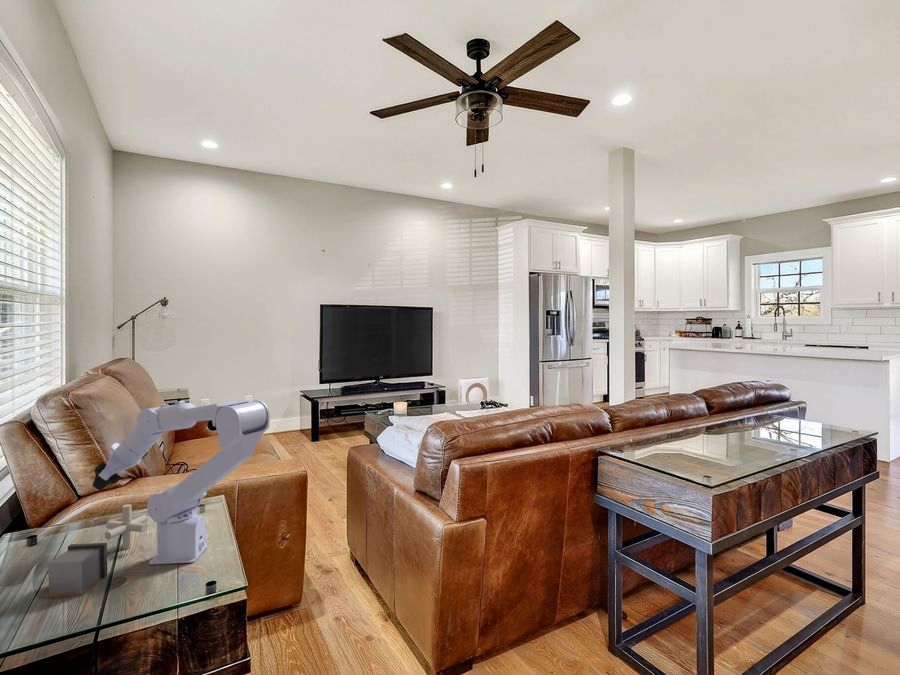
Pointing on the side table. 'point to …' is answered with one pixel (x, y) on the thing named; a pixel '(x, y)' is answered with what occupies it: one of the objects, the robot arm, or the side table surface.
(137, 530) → the pipe connector
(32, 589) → the side table surface
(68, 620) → the side table surface
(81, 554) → the duct stub
